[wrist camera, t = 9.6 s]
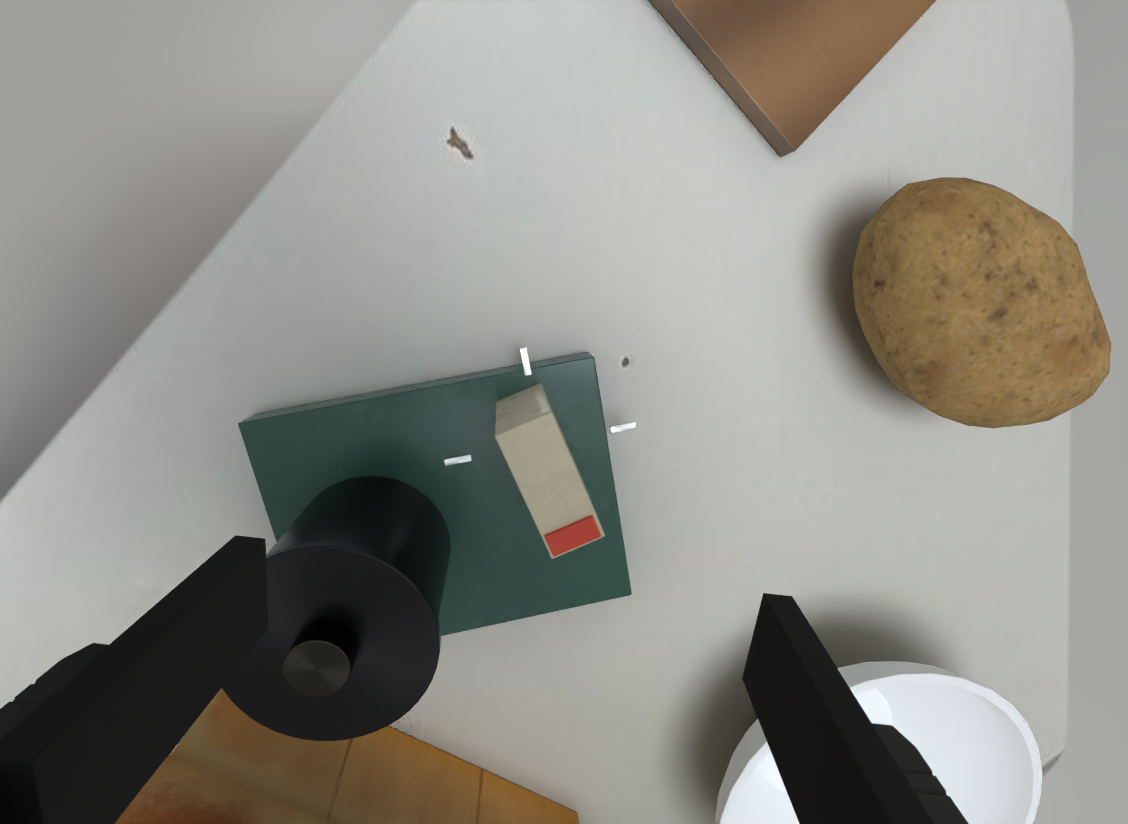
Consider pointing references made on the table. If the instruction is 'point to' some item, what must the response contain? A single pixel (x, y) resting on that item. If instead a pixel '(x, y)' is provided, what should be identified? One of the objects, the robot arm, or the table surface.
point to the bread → (324, 781)
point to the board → (790, 53)
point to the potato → (978, 305)
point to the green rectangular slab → (458, 481)
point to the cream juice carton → (545, 471)
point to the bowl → (933, 725)
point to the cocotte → (348, 614)
